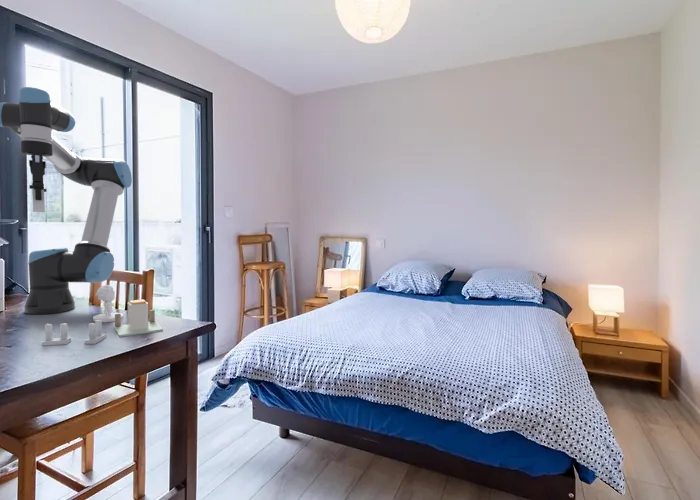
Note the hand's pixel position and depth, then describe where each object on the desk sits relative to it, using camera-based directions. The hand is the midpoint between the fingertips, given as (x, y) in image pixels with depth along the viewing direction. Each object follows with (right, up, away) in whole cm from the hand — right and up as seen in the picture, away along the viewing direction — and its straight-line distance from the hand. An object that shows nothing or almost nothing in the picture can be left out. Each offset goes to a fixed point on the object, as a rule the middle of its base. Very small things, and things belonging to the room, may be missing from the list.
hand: (39, 212), depth 121 cm
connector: (+28, -37, +5) cm, 46 cm away
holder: (+28, -37, +5) cm, 47 cm away
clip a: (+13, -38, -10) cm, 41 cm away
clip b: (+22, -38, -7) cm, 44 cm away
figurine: (+11, -36, +17) cm, 41 cm away
